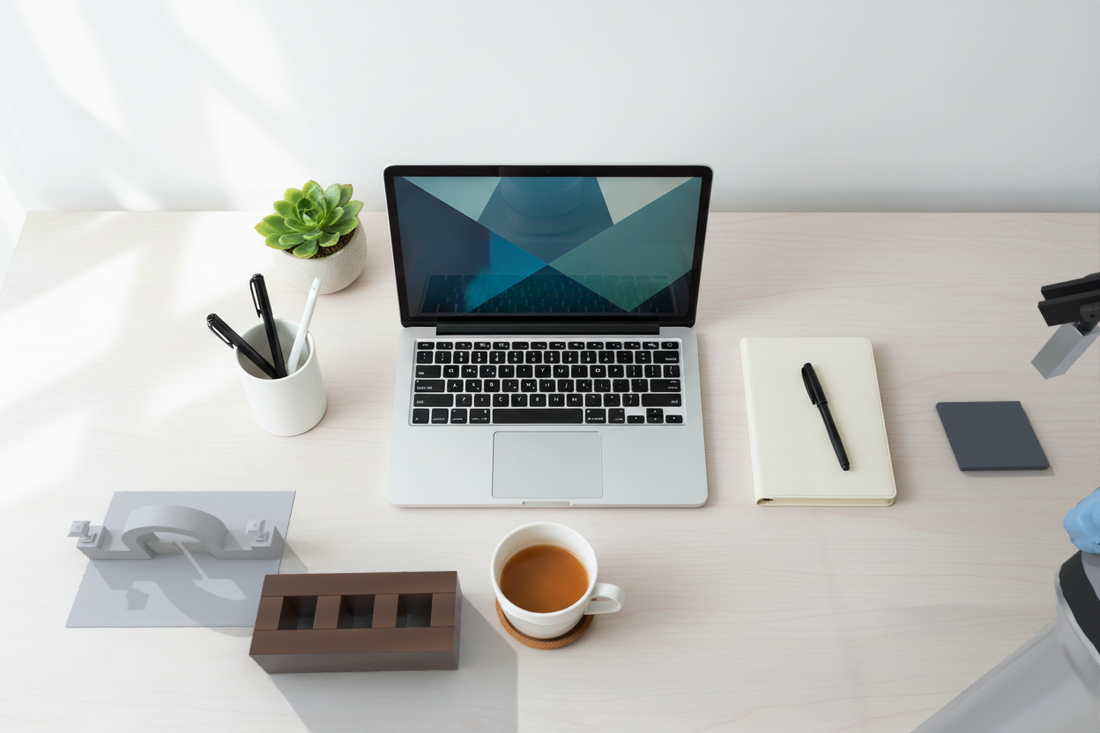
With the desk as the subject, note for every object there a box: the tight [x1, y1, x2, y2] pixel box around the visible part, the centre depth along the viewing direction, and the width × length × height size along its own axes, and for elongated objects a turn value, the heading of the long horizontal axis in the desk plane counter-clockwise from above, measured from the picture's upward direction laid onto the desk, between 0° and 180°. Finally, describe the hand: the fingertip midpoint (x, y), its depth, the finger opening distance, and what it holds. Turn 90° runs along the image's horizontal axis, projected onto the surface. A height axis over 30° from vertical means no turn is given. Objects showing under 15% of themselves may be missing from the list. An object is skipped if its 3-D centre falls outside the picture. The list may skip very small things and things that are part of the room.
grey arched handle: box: [66, 503, 286, 560], centre depth 79 cm, size 20×2×8 cm, turn 90°
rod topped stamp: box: [1030, 321, 1100, 380], centre depth 74 cm, size 2×2×18 cm
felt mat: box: [935, 400, 1051, 472], centre depth 92 cm, size 9×10×1 cm
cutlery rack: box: [248, 570, 463, 675], centre depth 75 cm, size 8×18×6 cm, turn 91°
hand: (1045, 306), depth 76 cm, fingers closed on rod topped stamp, 1 cm apart
